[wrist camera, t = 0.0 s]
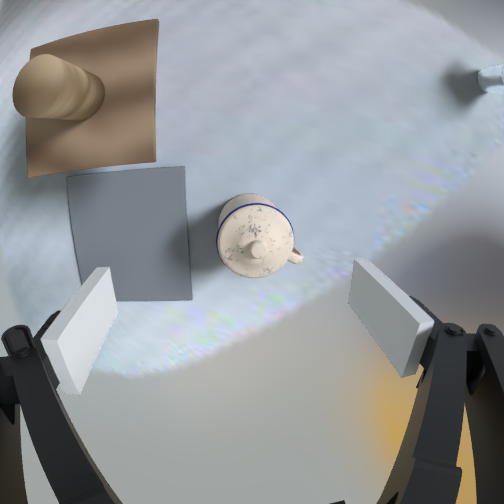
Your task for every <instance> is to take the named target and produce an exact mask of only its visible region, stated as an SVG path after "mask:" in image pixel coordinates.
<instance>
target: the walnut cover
mask: <svg viewBox="0 0 504 504" xmlns="http://www.w3.org/2000/svg"><path fill="white" fill-rule="evenodd" d="M158 30H159V21H158V19H152V20H144V21H138V22H132V23H126V24H120V25H115V26H110V27H105V28H101V29H96V30H92V31H88V32H84V33H80V34H77V35H73V36H69V37H66V38H63V39H59V40H56V41H53V42H50V43H47V44H44V45H41V46H38V47H36V48H33V49H31V53H30V61H29V62H28V63H26V65H25V66H24V67H23V68H22V69H21V71H20V72H19V74H18V76H17V78H16V81H15V84H14V87H13V103H14V106H15V108H16V110H17V111H18V112H19V113H20V114H21V115H22V116H25V117H26V153H27V170H28V178H30V177H36V176H41V175H48V174H54V173H60V172H67V171H74V170H82V169H90V168H98V167H107V166H116V165H127V164H138V163H151V162H156V130H155V103H156V65H157V45H158Z"/></svg>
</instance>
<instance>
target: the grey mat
mask: <svg viewBox="0 0 504 504" xmlns="http://www.w3.org/2000/svg"><path fill="white" fill-rule="evenodd" d="M66 179H67V191H68V200H69V209H70V216H71V224H72V230H73V237H74V243H75V249H76V254H77V260H78V265H79V270H80V275H81V279H82V284H83V283H84V282H85V281H86V280H87V278H88V277H89V276H90V275H91V274H92V273H93V271H94V270H95V269H96V268H97V267H110V272H111V278H112V283H113V288H114V293H115V298H116V301H179V300H192V299H193V297H192V286H191V274H190V261H189V246H188V230H187V212H186V188H185V166H179V167H162V168H148V169H135V170H124V171H113V172H103V173H95V174H86V175H78V176H70V177H66Z"/></svg>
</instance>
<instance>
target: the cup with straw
mask: <svg viewBox="0 0 504 504" xmlns="http://www.w3.org/2000/svg"><path fill="white" fill-rule="evenodd" d="M478 82H479V85H480V87H481V88H482V90H483V91H485V92H490V93H497V94H504V63H503V64H501V65H498V66H494V67H491V68H487V69H484V70H480V71H479V72H478Z"/></svg>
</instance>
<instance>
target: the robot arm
mask: <svg viewBox="0 0 504 504" xmlns="http://www.w3.org/2000/svg"><path fill="white" fill-rule="evenodd" d="M348 304H349V305H350V307H351V308H352V309H353V311H354V312H355V313H356V315H357V316H358V318H359V319H360V320H361V322H362V323H363V324H364V326H365V327H366V329H367V330H368V331H369V333H370V334H371V335H372V337H373V338H374V339H375V341H376V342H377V344H378V345H379V347H380V348H381V349H382V351H383V352H384V354H385V355H386V357H387V358H388V359H389V361H390V362H391V364H392V365H393V366H394V368H395V369H396V371H397V372H398V374H399V375H400V377H401V378H402V377H406V376H410V375H414V374H416V371H417V369H418V366H419V364H421V365H422V366H423V368H424V370H423V372H422V375H421V377H420V379H419V382H418V384H417V386H416V388H418V391H417V395H416V399H415V402H414V406H413V409H412V413H411V417H410V420H409V423H408V426H407V429H406V432H405V436H404V439H403V442H402V444H401V447H400V450H399V453H398V456H397V459H396V461H395V464H394V466H393V469H392V471H391V474H390V476H389V479H388V481H387V484H386V486H385V488H384V490H383V493H382V495H381V497H380V499H379V501H378V502H377V504H455V503H456V499H457V495H458V491H459V487H460V482H461V477H462V469H461V468H460V467H456V462H457V456H458V450H459V444H460V437H461V431H462V422H463V413H464V403H465V406H466V411H467V417H468V423H469V429H470V435H471V442H472V449H473V457H474V467H475V477H476V494H477V504H504V336H503V334H502V332H501V331H500V330H499V329H498V328H496V326H494V325H492V324H481V325H480V326H479V328H478V330H477V332H476V334H466V332H465V330H464V329H463V328H462V327H460V326H459V325H456V324H453V323H442V322H441V321H440V320H439V319H438V318H437V317H436V316H435V315H434V314H433V313H432V312H431V311H429V309H428V308H426V307H425V306H424V305H423V304H422V303H421V302H420V301H419V300H417V299H415V298H413V297H411V296H407V295H406V294H405V293H404V292H403V291H402V290H401V289H400V288H399V287H398V286H397V285H395V284H394V283H393V282H392V281H391V280H390V279H389V278H388V277H387V276H385V275H384V274H383V273H382V272H381V271H380V270H379V269H378V268H377V267H375V266H374V265H373V264H372V263H371V262H370V261H369V260H367V259H354V266H353V273H352V281H351V287H350V294H349V300H348ZM117 314H118V308H117V303H116V298H115V293H114V288H113V283H112V278H111V272H110V267H97V268H96V269H95V270H94V271H93V273H92V274H91V275H90V276H89V277H88V278H87V280H86V281H85V282H84V283H83V285H82V286H81V287H80V288H79V289H78V291H77V292H76V293H75V294H74V296H73V297H72V298H71V299H70V301H69V302H68V303H67V304H66V306H65V307H64V308H63V310H62V311H57V312H55V313H54V314H52V315H51V316H50V317H49V318H48V319H47V321H46V322H45V324H44V325H43V326H42V327H41V329H40V330H39V331H38V332H37V334H36V335H35V336H34V338H33V337H32V334H31V331H30V329H29V328H28V326H25V325H17V326H13V327H11V328H9V329H8V330H6V331H5V332H4V333H3V335H2V338H1V340H2V342H3V344H4V347H5V349H6V351H7V353H8V355H9V356H7V357H0V504H28V502H27V496H26V489H25V482H24V474H23V465H22V454H21V435H20V405H21V408H22V412H23V415H24V418H25V421H26V425H27V428H28V431H29V434H30V437H31V439H32V442H33V445H34V447H35V450H36V453H37V455H38V458H39V460H40V463H41V465H42V467H43V470H44V472H45V474H46V476H47V479H48V481H49V483H50V485H51V487H52V489H53V491H54V493H55V495H56V497H57V499H58V502H59V504H122V502H121V501H120V500H119V498H118V497H117V496H116V494H115V493H114V491H113V490H112V489H111V487H110V485H109V484H108V483H107V481H106V480H105V478H104V477H103V475H102V474H101V472H100V470H99V469H98V467H97V466H96V464H95V463H94V461H93V459H92V458H91V456H90V454H89V453H88V451H87V449H86V448H85V446H84V444H83V442H82V440H81V439H80V437H79V435H78V433H77V432H76V430H75V428H74V426H73V424H72V422H71V420H70V418H69V416H68V414H67V412H66V410H65V408H64V406H63V403H62V401H61V400H60V397H59V395H58V393H57V391H56V388H57V386H58V385H59V384H60V386H61V388H62V390H63V392H64V393H65V394H72V395H79V396H80V394H81V392H82V389H83V387H84V384H85V382H86V380H87V378H88V375H89V373H90V371H91V369H92V366H93V364H94V362H95V360H96V358H97V355H98V353H99V351H100V349H101V347H102V345H103V343H104V341H105V338H106V336H107V334H108V332H109V330H110V328H111V326H112V324H113V322H114V320H115V318H116V316H117ZM331 504H345V501H344V500H343V501H339V502H335V503H331Z"/></svg>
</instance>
